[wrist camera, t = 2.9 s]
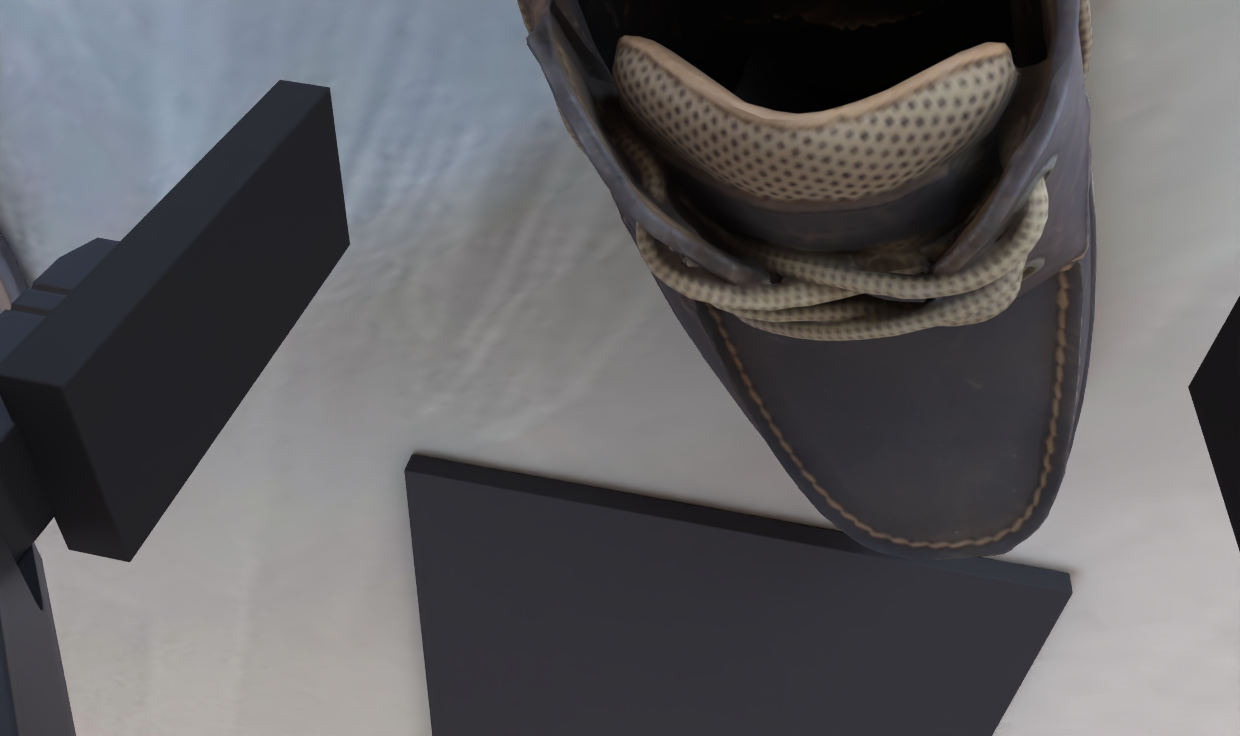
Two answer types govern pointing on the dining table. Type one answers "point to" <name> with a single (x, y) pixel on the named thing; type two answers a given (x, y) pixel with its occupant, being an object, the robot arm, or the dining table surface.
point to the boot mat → (700, 619)
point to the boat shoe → (861, 234)
